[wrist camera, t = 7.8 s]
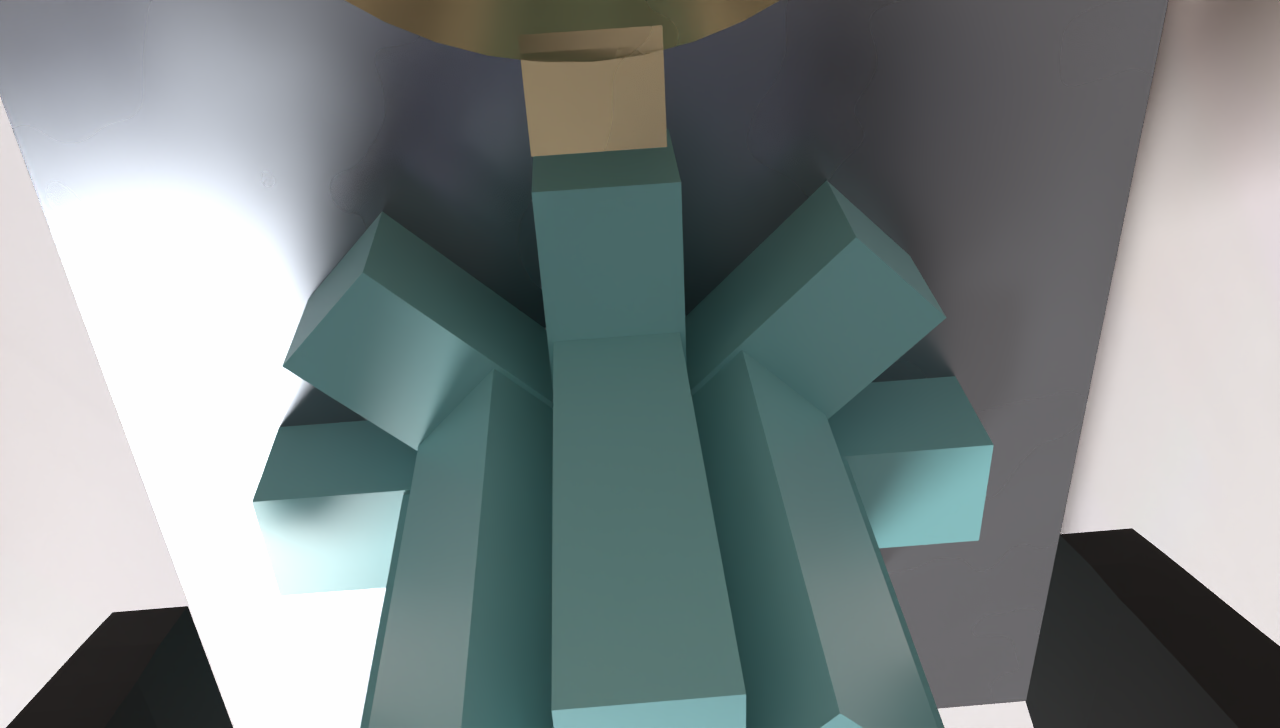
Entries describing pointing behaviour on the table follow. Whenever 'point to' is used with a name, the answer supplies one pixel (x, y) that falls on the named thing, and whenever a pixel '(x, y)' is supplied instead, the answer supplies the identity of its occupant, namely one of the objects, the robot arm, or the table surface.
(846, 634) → the gear
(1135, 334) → the table surface
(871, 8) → the carrier
